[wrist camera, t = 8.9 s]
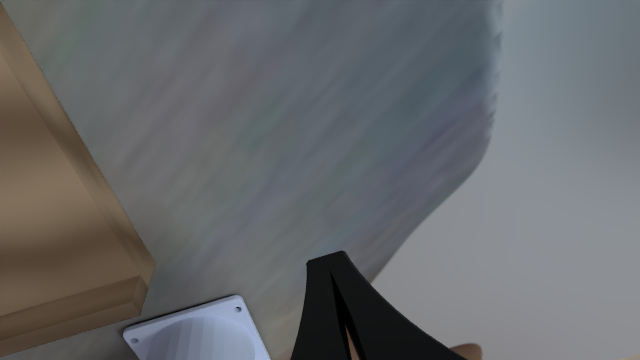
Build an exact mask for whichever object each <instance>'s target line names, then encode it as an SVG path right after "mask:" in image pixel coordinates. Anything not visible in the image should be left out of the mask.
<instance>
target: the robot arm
mask: <svg viewBox="0 0 640 360" xmlns="http://www.w3.org/2000/svg"><path fill="white" fill-rule="evenodd" d="M306 266H307V282H306V293H305V300H304V306H303V312H302V317H301V322H300V326H299V331H298V335H297V339H296V342H295V346H294V349H293V353H292V356H291V359H290V360H352V358H351V353H350V348H349V343H348V338H347V332H346V327H347V330H348V332H349V335H350V337H351V340H352V342H353V345H354V347H355V350H356V352H357V355H358V357H359V360H468V359H466V358H464V357H462V356H461V355H459V354H457V353H456V352H454V351H452V350H451V349H449V348H448V347H446V346H445V345H443V344H442V343H440V342H439V341H437V340H435V339H434V338H433V337H431V336H429V335H428V334H426V333H425V332H424V331H422V330H421V329H420V328H418V327H417V326H416V325H414V324H413V323H412V322H410V321H409V320H408V319H407V318H406V317H404V316H403V315H402V314H401V313H400V312H398V311H397V310H396V309H395V308H394V307H393V306H392V305H391V304H390V303H388V302H387V301H386V300H385V299H384V298H383V297H382V296H381V295H380V294H379V293H378V292H377V291H376V290H375V289H374V288H373V287H372V286H371V284H370V283H369V282H368V281H367V280H366V279H365V278H364V277H363V276H362V274H361V273H360V272H359V271H358V270H357V268H356V267H355V266H354V264H353V263H352V262H351V260H350V259H349V257H348V255H347V254H346V252H344V251H338V252H335V253H332V254H328V255H325V256H322V257H318V258H315V259H311V260H309V261H308V262H307V263H306ZM236 307H240V308H236ZM345 325H346V327H345ZM123 338H124V339H125V340H126V342H127V343H128V344H129V346H130V347H131V348H132V350H133V351H134V352H135V354H136V355H137V356H138V358H139V359H140V360H271V359H270V356H269V354H268V352H267V350H266V348H265V346H264V344H263V341H262V339H261V337H260V335H259V333H258V331H257V328H256V326H255V324H254V322H253V320H252V318H251V316H250V313H249V311H248V309H247V307H246V305H245V303H244V300H243V298H242V297H241V296H238V295H234V296H230V297H227V298H223V299H220V300H217V301H213V302H210V303H207V304H203V305H200V306H197V307H193V308H190V309H187V310H183V311H180V312H177V313H173V314H170V315H167V316H163V317H160V318H157V319H153V320H150V321H147V322H143V323H140V324H137V325H133V326H130V327H127V328H126V329H125V330H124V333H123ZM134 338H136V339H134Z"/></svg>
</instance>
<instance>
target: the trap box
mask: <svg viewBox="0 0 640 360" xmlns="http://www.w3.org/2000/svg"><path fill="white" fill-rule="evenodd" d="M155 265H156V264H155V262H154V261H153V259H152V257H151V256H150V254H149V252H148V251H147V249H146V247H145V246H144V244H143V242H142V240H141V239H140V237H139V235H138V234H137V232H136V230H135V229H134V227H133V225H132V224H131V222H130V220H129V219H128V217H127V215H126V213H125V212H124V210H123V208H122V207H121V205H120V203H119V202H118V200H117V198H116V197H115V195H114V193H113V192H112V190H111V188H110V187H109V185H108V183H107V181H106V180H105V178H104V176H103V175H102V173H101V171H100V170H99V168H98V166H97V165H96V163H95V161H94V160H93V158H92V156H91V154H90V153H89V151H88V149H87V148H86V146H85V144H84V143H83V141H82V139H81V138H80V136H79V134H78V133H77V131H76V129H75V127H74V126H73V124H72V122H71V121H70V119H69V117H68V116H67V114H66V112H65V111H64V109H63V107H62V106H61V104H60V102H59V101H58V99H57V97H56V95H55V94H54V92H53V90H52V89H51V87H50V85H49V84H48V82H47V80H46V79H45V77H44V75H43V74H42V72H41V70H40V68H39V67H38V65H37V63H36V62H35V60H34V58H33V57H32V55H31V53H30V52H29V50H28V48H27V47H26V45H25V43H24V41H23V40H22V38H21V36H20V35H19V33H18V31H17V30H16V28H15V26H14V25H13V23H12V21H11V20H10V18H9V16H8V15H7V13H6V11H5V9H4V8H3V6H2V4H1V3H0V357H2V356H5V355H9V354H12V353H15V352H19V351H22V350H25V349H29V348H32V347H35V346H39V345H42V344H45V343H49V342H52V341H55V340H59V339H62V338H66V337H69V336H72V335H76V334H79V333H82V332H86V331H89V330H92V329H96V328H99V327H102V326H106V325H109V324H112V323H116V322H119V321H122V320H126V319H129V318H132V317H136V316H139V315H140V314H141V311H142V307H143V304H144V301H145V297H146V294H147V291H148V288H149V284H150V281H151V278H152V274H153V271H154V268H155Z"/></svg>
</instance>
